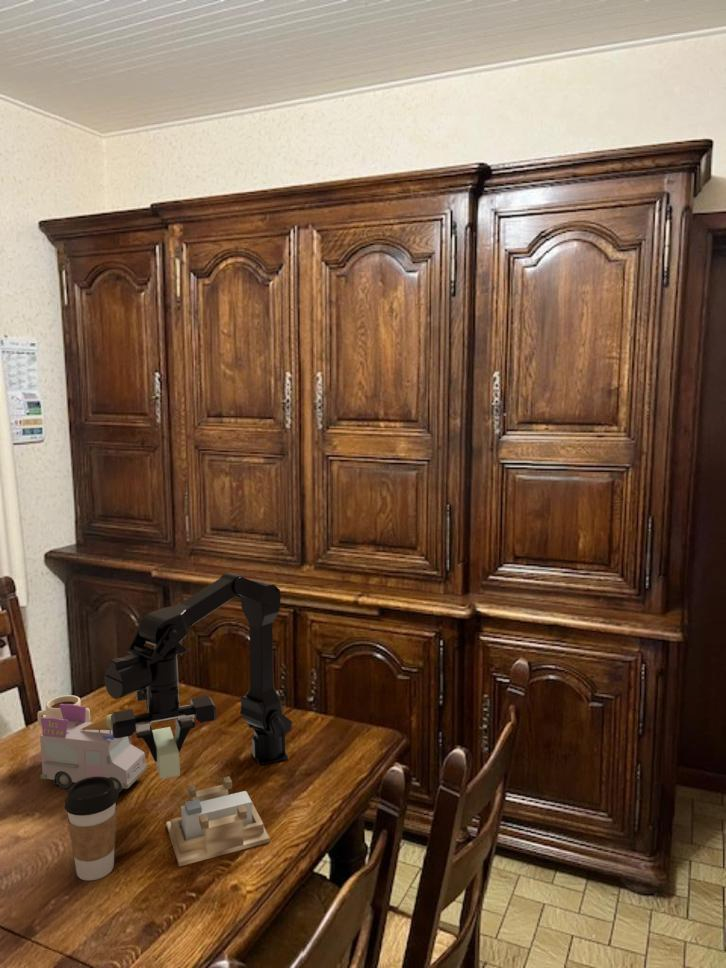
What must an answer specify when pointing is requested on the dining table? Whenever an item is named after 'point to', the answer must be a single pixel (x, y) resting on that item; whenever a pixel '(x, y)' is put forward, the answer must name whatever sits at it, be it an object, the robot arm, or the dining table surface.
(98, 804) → the coffee cup
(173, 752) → the pale green rectangular block
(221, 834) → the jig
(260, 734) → the robot arm
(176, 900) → the dining table surface
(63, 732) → the toy vehicle
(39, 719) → the character mug
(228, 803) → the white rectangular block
